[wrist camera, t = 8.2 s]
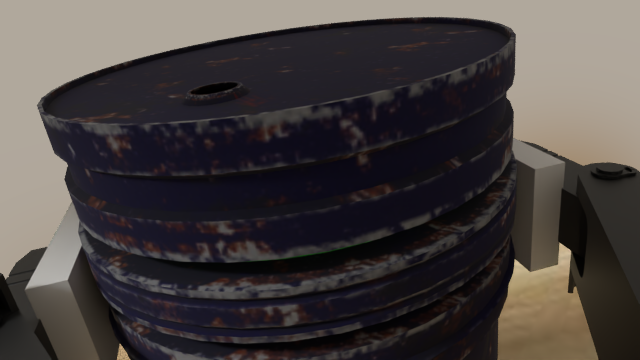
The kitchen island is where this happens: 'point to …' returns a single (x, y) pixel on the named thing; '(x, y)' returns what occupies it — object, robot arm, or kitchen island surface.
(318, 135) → the dark blue cylinder
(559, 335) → the kitchen island surface
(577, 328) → the kitchen island surface
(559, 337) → the kitchen island surface
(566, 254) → the kitchen island surface
